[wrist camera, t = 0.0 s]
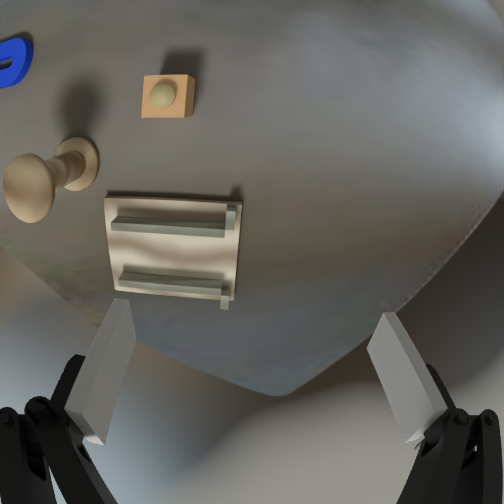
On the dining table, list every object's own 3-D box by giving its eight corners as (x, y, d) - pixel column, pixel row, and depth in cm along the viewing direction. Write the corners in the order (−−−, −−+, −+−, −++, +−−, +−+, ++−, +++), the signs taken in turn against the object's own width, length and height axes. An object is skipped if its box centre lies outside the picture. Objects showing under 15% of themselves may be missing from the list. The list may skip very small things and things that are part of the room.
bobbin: (55, 139, 33) (0, 158, 22) (98, 135, 34) (47, 152, 23) (58, 189, 37) (9, 222, 26) (100, 188, 38) (54, 223, 26)
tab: (158, 79, 31) (141, 75, 25) (195, 79, 32) (186, 73, 26) (155, 115, 34) (138, 118, 28) (192, 115, 34) (182, 117, 28)
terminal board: (106, 195, 38) (96, 203, 35) (241, 202, 40) (242, 211, 37) (117, 285, 46) (110, 298, 43) (233, 296, 48) (233, 310, 44)
